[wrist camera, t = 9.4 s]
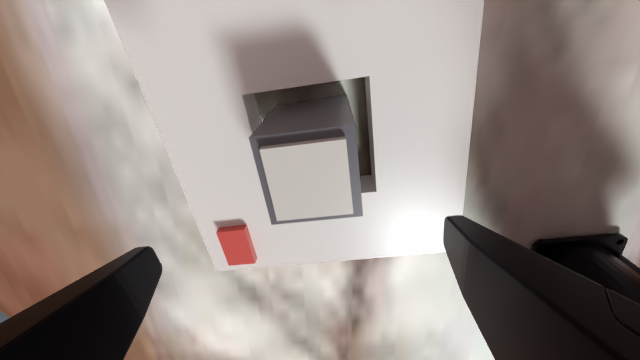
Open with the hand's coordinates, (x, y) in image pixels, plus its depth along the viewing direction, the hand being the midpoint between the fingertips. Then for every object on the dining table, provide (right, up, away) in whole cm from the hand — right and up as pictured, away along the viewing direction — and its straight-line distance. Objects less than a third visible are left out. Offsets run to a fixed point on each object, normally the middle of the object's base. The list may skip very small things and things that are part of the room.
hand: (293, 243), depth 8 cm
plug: (+1, +5, +10) cm, 12 cm away
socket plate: (+1, +5, +10) cm, 11 cm away
